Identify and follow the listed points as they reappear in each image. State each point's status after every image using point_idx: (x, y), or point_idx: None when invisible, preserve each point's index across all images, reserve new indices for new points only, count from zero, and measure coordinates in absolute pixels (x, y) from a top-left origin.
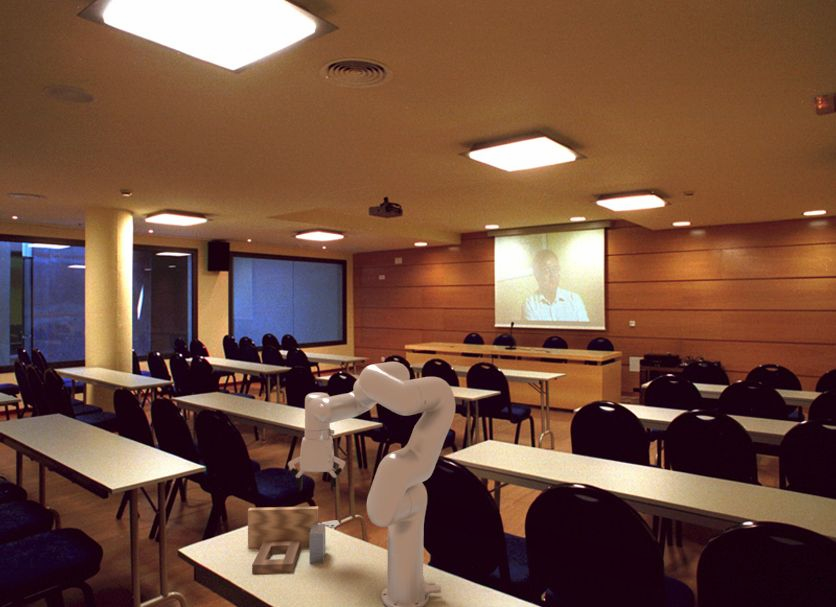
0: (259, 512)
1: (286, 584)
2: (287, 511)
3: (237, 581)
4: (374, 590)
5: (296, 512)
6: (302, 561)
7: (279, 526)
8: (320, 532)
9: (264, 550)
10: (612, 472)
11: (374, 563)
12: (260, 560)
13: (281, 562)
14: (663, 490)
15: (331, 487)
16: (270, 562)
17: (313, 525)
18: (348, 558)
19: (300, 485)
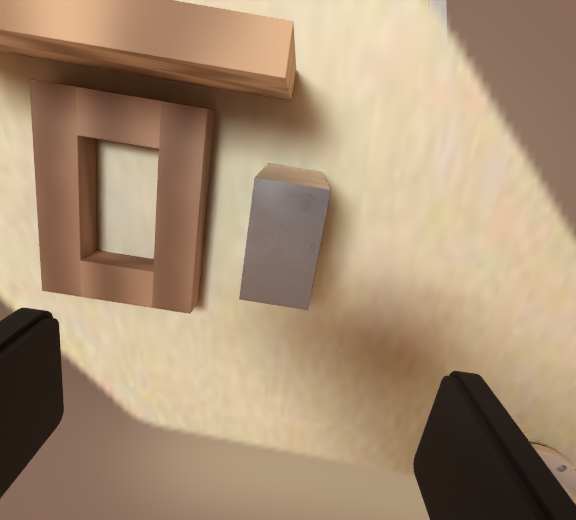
0: None
1: (187, 364)
2: (57, 41)
3: None
4: None
5: (129, 54)
6: (229, 228)
7: (63, 53)
8: (296, 295)
9: (58, 178)
10: None
11: (489, 300)
12: (64, 263)
13: (148, 295)
14: None
15: (432, 506)
16: (107, 286)
17: (260, 196)
18: (405, 243)
19: (7, 478)
